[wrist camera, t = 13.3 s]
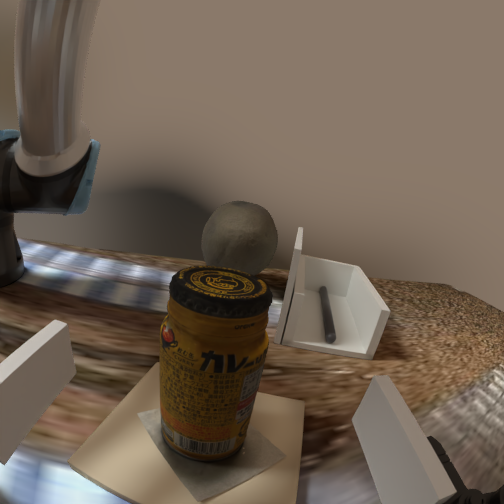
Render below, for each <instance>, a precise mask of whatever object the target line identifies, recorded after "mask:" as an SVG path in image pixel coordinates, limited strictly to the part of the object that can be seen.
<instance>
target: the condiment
mask: <svg viewBox="0 0 504 504" xmlns="http://www.w3.org/2000/svg"><path fill="white" fill-rule="evenodd" d="M169 289H170V291H169V293H170V299H169V301H168V304H167V311H168V315H167V316H166V317H165V319H164V320H163V322H162V325H161V329H160V334H159V335H160V366H159V369H160V373H159V376H160V408H158V409H153V410H149V411H144V412H140V413H137V414H138V416H139V418H140V420H141V422H142V423H143V425H144V427H145V429H146V430H147V432H148V433H149V435H150V437H151V439H152V440H153V442H154V444H155V445H156V446H157V448H158V450H159V451H160V453H161V454H162V456H163V457H164V458H165V460H166V461H167V462H168V464H169V465H170V467H171V468H172V470H173V471H174V473H175V474H176V475H177V477H178V478H179V480H180V481H181V482H182V483H183V485H184V486H185V487H186V488H187V489H188V490H189V492H190V493H191V494H192V496H193V497H194V498H195V499H196V501H197V502H199V501H201V500H204V499H206V498H208V497H212V496H214V495H216V494H218V493H221V492H223V491H225V490H227V489H229V488H231V487H234V486H236V485H238V484H240V483H242V482H243V481H245V480H247V479H249V478H251V477H253V476H255V475H257V474H258V473H260V472H261V471H263V470H265V469H266V468H268V467H270V466H272V465H274V464H275V463H276V462H278V461H280V460H281V459H283V458H284V457H286V455H285V454H284V453H283V452H282V451H281V450H280V449H279V448H277V447H276V446H275V445H273V444H272V443H271V442H270V441H269V440H268V439H267V438H266V437H264V436H263V435H262V434H261V433H260V432H259V431H258V430H256V429H255V428H254V427H253V426H252V425H251V424H250V418H251V414H252V411H253V407H254V403H255V398H256V395H257V391H258V388H259V387H258V386H259V383H260V379H261V375H262V372H263V367H264V362H265V358H266V354H267V349H268V345H269V339H268V335H267V332H266V330H265V329H266V326H267V323H268V319H269V318H268V310H269V306H270V305H271V303H272V297H273V295H272V292H271V291H270V289H269V287H268V286H267V284H266V283H265V282H263V281H262V280H261V279H259V278H257V277H255V276H253V275H250V274H248V273H245V272H242V271H239V270H234V269H230V268H224V267H216V266H196V267H195V266H194V267H189V268H185V269H182V270H180V271H179V272H177V273H176V274H175V275H173V277H172V280H171V282H170V285H169ZM243 448H245V449H243ZM244 452H245V453H244Z"/></svg>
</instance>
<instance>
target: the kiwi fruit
mask: <svg viewBox="0 0 504 504" xmlns="http://www.w3.org/2000/svg"><path fill="white" fill-rule="evenodd" d="M277 242H278V235H277V230H276V227H275V224H274V221H273V219H272V217H271V215H270V214H269V212H268V211H267V210H266V209H264V208H263V207H261V206H259V205H257V204H253V203H249V202H244V201H233V202H229V203H226V204H224V205H222V206H221V207H219V208H218V209H217V210H216V211H215V212H214V213H213V214H212V215H211V217H210V219H209V220H208V222H207V223H206V225H205V227H204V230H203V235H202V251H203V255H204V258H205V262H206V264H207V266H216V267H224V268H230V269H234V270H239V271H242V272H245V273H248V274H250V275H253V276H255V275H257V274H258V273H260V272H261V271H262V270H264V269H265V268H266V267H267V266H268V265H269V263H270V262H271V260H272V259H273V256H274V254H275V251H276V248H277Z"/></svg>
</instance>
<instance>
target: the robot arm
mask: <svg viewBox="0 0 504 504" xmlns="http://www.w3.org/2000/svg"><path fill="white" fill-rule="evenodd" d="M99 3H100V0H19V1H18V8H17V17H16V28H15V47H14V71H15V89H16V90H15V91H16V103H17V112H18V120H19V127H20V131H17V130H2V131H1V130H0V287H2V286H5V285H8V284H10V283H12V282H14V281H16V280H17V279H19V278H20V277H21V276H22V275H23V273H24V261H23V256H22V253H21V250H20V247H19V244H18V240H17V237H16V234H15V230H14V213H45V214H63V215H65V216H66V215H68V214H82V213H83V212H85V211H86V210H87V208H88V204H89V200H90V194H91V189H92V182H93V177H94V174H95V169H96V164H97V159H98V154H99V150H100V143H99V142H98V141H95V140H93V139H90V132H89V129H88V127H87V126H86V124H85V123H84V122H83V121H81V107H82V96H83V86H84V78H85V70H86V63H87V57H88V51H89V46H90V41H91V35H92V31H93V27H94V22H95V18H96V14H97V10H98V7H99ZM75 374H76V368H75V364H74V359H73V354H72V348H71V342H70V336H69V330H68V324H66V323H63V322H61V321H58V320H54V321H52V322H51V323H50V324H48V325H47V326H46V327H45V328H43V329H42V330H41V331H39V332H38V333H37V334H36V335H34V336H33V337H32V338H31V339H29V340H28V341H27V342H26V343H24V344H23V345H22V346H21V347H20V348H18V349H17V350H16V351H15V352H13V353H12V354H11V355H10V356H9V357H7V358H6V359H5V360H4V361H3V362H2V363H0V462H1V463H2V464H3V465H5V464H6V463H7V461H8V460H9V458H10V457H11V456H12V454H13V453H14V451H15V450H16V449H17V447H18V446H19V445H20V443H21V442H22V440H23V439H24V438H25V436H26V435H27V434H28V432H29V431H30V430H31V429H32V427H33V426H34V425H35V423H36V422H37V421H38V419H39V418H40V417H41V416H42V414H43V413H44V412H45V411H46V409H47V408H48V407H49V406H50V404H51V403H52V402H53V401H54V399H55V398H56V397H57V396H58V394H59V393H60V392H61V391H62V390H63V388H64V387H65V386H66V385H67V384H68V382H69V381H70V380H71V379H72V378H73V376H74V375H75ZM352 422H353V425H354V428H355V430H356V433H357V436H358V438H359V441H360V444H361V447H362V449H363V452H364V455H365V458H366V460H367V463H368V466H369V469H370V472H371V475H372V477H373V480H374V483H375V486H376V489H377V492H378V495H379V498H380V501H381V504H504V485H503V486H502V487H501V488H500V489H498V490H497V491H496V492H491V493H486V494H482V493H481V491H479V490H476V489H469V490H468V489H467V488H466V486H465V485H464V483H463V481H462V480H461V478H460V476H459V474H458V472H457V471H456V469H455V467H454V466H453V464H452V462H450V459H449V457H448V455H446V452H445V450H444V449H443V447H442V445H441V444H440V443H439V442H438V441H437V440H436V439H434V438H433V437H432V436H429V437H426V436H425V434H424V432H423V431H422V429H421V427H420V426H419V424H418V422H417V421H416V419H415V417H414V416H413V414H412V412H411V411H410V409H409V407H408V406H407V404H406V403H405V401H404V399H403V398H402V396H401V395H400V393H399V391H398V390H397V388H396V387H395V385H394V384H393V382H392V380H391V379H390V377H389V376H373V378H372V381H371V383H370V385H369V387H368V389H367V391H366V393H365V395H364V397H363V399H362V401H361V403H360V405H359V407H358V409H357V411H356V412H355V414H354V416H353V418H352Z"/></svg>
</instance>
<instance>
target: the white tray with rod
mask: <svg viewBox="0 0 504 504" xmlns="http://www.w3.org/2000/svg"><path fill="white" fill-rule="evenodd" d="M302 234H303V228H301V227H299V228H298V233H297V238H296V243H295V248H294V253H293V258H292V263H291V267H290V272H289V277H288V282H287V286H286V291H285V295H284V300H283V304H282V309H281V313H280V318H279V322H278V326H277V331H276V335H275V339H274V343H277V344H280V342H281V338H282V334H283V330H284V334H283V339H282V345H286V346H291V347H296V348H301V349H306V350H312V351H317V352H323V353H329V354H335V355H341V356H347V357H354V358H361V359H368V360H372V359H373V356H374V354H375V351H376V349H377V346H378V344H379V341H380V339H381V336H382V333H383V331H384V328H385V325H386V322H387V320H388V317H389V314H390V310H389V308H388V307H387V305H386V304H385V303H384V301H383V300H382V298H381V297H380V295H379V294H378V292H377V291H376V290H375V288H374V287H373V285H372V284H371V282H370V281H369V280H368V278H367V277H366V275H365V274H364V273H363V271H362V270H361V269H360V267H359V266H354V265H350V264H345V263H340V262H335V261H331V260H326V259H321V258H316V257H311V256H306V255H301V250H302ZM285 322H286V323H285ZM284 326H285V328H284Z"/></svg>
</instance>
